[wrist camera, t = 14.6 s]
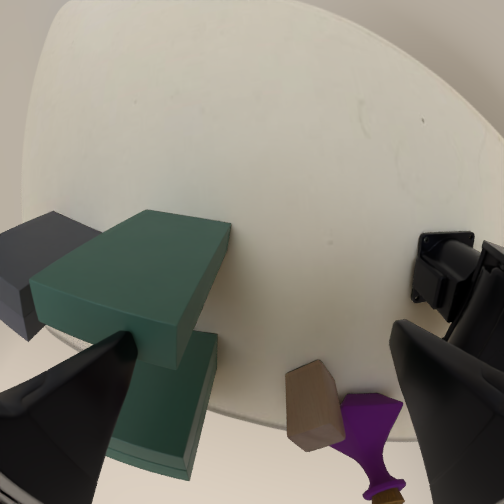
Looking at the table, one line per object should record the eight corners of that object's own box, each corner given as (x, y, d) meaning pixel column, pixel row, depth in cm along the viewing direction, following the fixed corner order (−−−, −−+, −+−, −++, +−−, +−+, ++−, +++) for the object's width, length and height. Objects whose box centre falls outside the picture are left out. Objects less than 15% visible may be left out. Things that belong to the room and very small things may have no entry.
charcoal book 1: (103, 255, 22) (23, 318, 12) (101, 275, 23) (28, 342, 13) (51, 230, 22) (-28, 274, 12) (51, 249, 23) (-24, 298, 12)
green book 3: (217, 352, 25) (186, 471, 13) (216, 368, 26) (189, 481, 14) (149, 340, 25) (93, 442, 13) (152, 356, 26) (103, 455, 14)
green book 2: (217, 333, 24) (183, 458, 12) (217, 351, 25) (186, 470, 13) (146, 321, 24) (82, 425, 12) (149, 339, 25) (93, 441, 13)
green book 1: (231, 223, 21) (177, 325, 8) (227, 250, 21) (176, 371, 9) (145, 209, 21) (28, 278, 8) (144, 235, 21) (38, 321, 9)
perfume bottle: (337, 383, 26) (364, 538, 9) (395, 382, 26) (441, 514, 9) (318, 421, 28) (329, 550, 12) (371, 419, 28) (397, 535, 11)
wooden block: (301, 393, 27) (305, 454, 19) (283, 372, 26) (285, 438, 18) (335, 379, 26) (347, 440, 18) (319, 357, 25) (331, 422, 17)
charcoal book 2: (106, 234, 22) (19, 291, 11) (103, 255, 22) (23, 319, 12) (53, 210, 21) (-32, 249, 11) (51, 231, 22) (-28, 275, 12)
